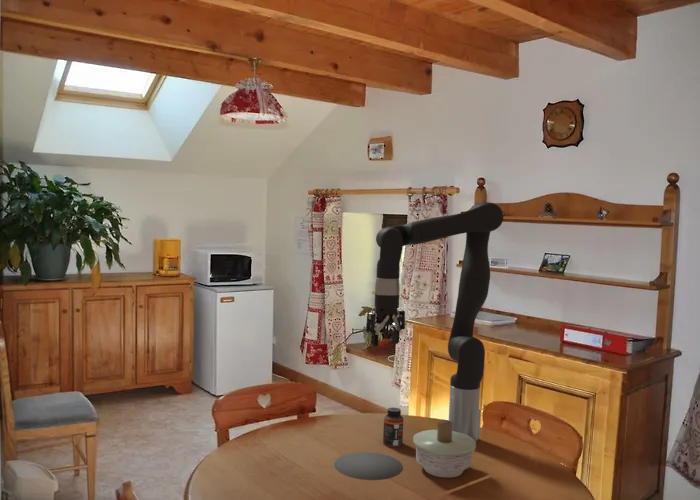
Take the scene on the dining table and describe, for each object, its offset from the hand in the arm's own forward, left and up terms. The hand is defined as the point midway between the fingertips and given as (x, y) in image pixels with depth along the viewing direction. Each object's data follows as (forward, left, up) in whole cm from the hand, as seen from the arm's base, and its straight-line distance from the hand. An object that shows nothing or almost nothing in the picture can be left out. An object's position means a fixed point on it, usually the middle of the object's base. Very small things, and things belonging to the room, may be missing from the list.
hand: (385, 344), depth 192 cm
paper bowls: (+2, +27, -30) cm, 41 cm away
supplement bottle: (0, +5, -30) cm, 31 cm away
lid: (+2, +27, -22) cm, 35 cm away
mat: (+17, +13, -30) cm, 37 cm away
